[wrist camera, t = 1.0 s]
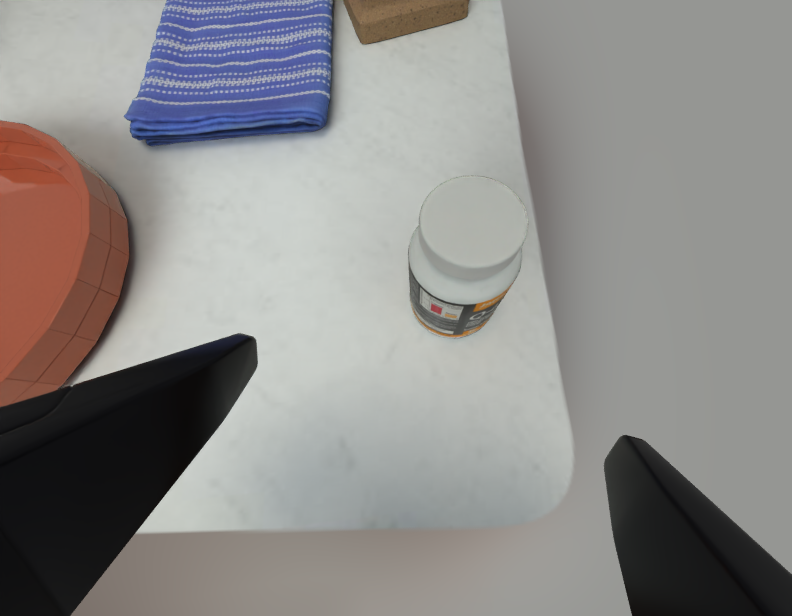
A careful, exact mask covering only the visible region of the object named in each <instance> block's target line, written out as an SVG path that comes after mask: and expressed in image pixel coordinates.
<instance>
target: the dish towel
mask: <svg viewBox="0 0 792 616" xmlns="http://www.w3.org/2000/svg"><path fill="white" fill-rule="evenodd" d="M332 10H333V0H167V2H166V4H165V7H164V9H163V12H162V16H161V21H160V24H159V26H158V29H157V33H156V40H155V41H154V43H153V47H152V51H151V55H150V59H149V60H148V61H147V65H146V72H145V77H144V79H143V80H142V82H141V86H140V90H139V92H138V95H137V97H136V98H134V99H133V100H132V104H131V105H130V107H129V109H128V111H127V113H126V114H125V115H124V117H125V118H126V119H127V120H129V121H131V124H130V127H131V128H130V132H131V133H132V137H133V138H135V139H138V140H146V143H147V144H148V145H150V146H155V145H163V144H173V143H179V142H191V141H204V140H213V139H223V138H233V137H244V136H255V135H269V134H281V133H296V132H311V131H316V130H319V129H321V128H323V127H324V126H325V125H326V121H327V114H328V105H329V101H330V84H331V61H332V57H331V50H332V48H331V45H332V24H333V19H332Z"/></svg>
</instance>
